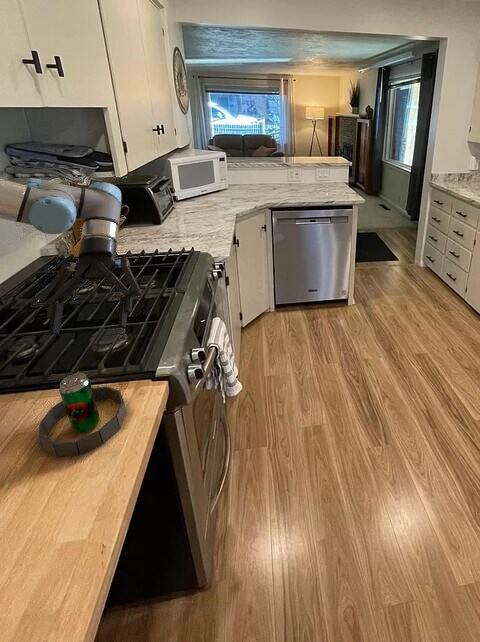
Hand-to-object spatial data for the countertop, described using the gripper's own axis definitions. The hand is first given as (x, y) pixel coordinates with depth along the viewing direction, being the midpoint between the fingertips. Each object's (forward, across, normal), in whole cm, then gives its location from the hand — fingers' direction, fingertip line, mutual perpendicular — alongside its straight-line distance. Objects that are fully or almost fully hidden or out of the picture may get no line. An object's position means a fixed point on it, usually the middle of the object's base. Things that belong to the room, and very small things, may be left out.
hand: (88, 330), depth 78 cm
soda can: (+19, 0, -5) cm, 20 cm away
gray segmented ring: (+19, 0, -5) cm, 20 cm away
